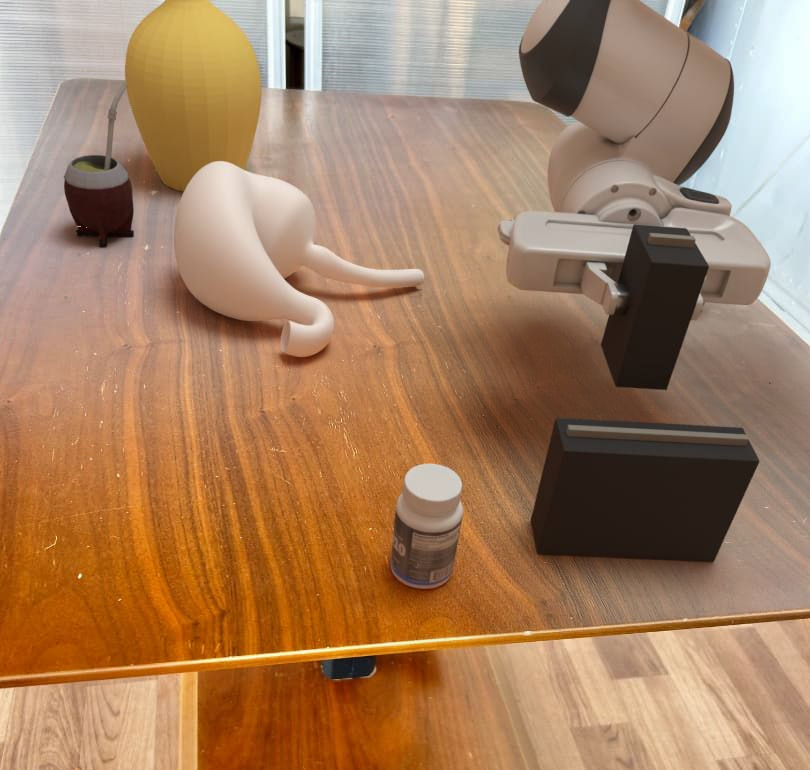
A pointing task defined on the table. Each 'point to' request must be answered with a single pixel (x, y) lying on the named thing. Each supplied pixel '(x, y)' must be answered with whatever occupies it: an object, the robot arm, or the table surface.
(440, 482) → the pill bottle
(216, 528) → the table surface
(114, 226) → the mate gourd
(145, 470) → the table surface
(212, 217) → the stomach
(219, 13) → the vase
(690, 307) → the black rectangular block
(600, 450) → the black rectangular box
